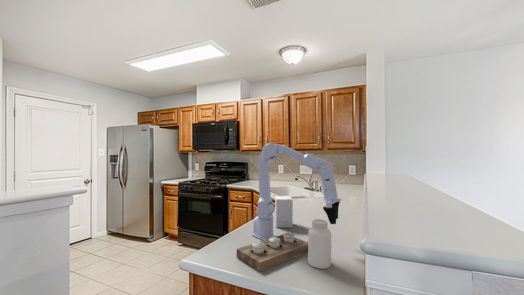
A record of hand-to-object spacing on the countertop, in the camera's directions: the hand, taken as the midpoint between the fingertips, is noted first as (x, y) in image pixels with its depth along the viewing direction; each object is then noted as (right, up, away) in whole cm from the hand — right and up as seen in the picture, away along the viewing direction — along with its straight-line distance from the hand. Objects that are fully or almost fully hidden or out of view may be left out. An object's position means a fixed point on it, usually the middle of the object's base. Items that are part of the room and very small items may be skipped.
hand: (334, 221), depth 97 cm
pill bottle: (-10, -10, -16) cm, 21 cm away
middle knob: (-26, -8, -8) cm, 28 cm away
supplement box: (-19, -11, +27) cm, 35 cm away
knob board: (-26, -10, -8) cm, 29 cm away
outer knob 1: (-32, -8, -13) cm, 35 cm away
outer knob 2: (-20, -8, -3) cm, 21 cm away
